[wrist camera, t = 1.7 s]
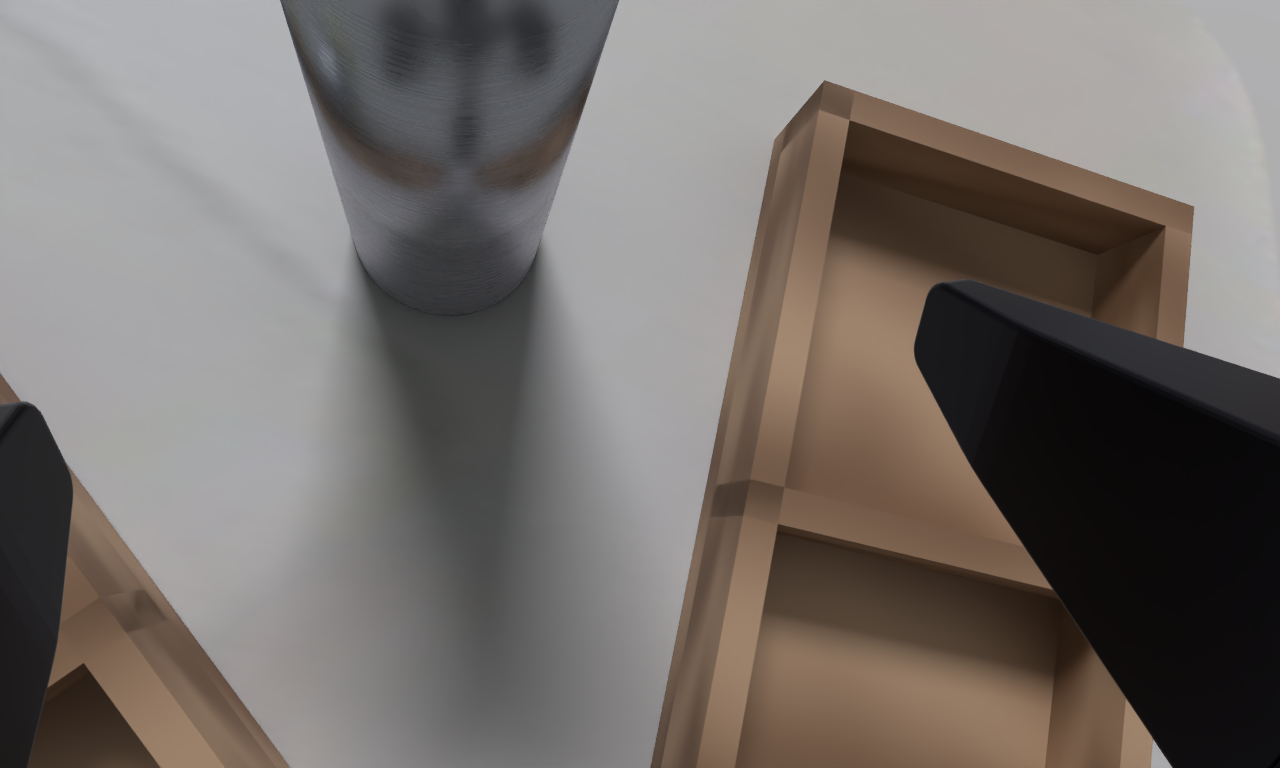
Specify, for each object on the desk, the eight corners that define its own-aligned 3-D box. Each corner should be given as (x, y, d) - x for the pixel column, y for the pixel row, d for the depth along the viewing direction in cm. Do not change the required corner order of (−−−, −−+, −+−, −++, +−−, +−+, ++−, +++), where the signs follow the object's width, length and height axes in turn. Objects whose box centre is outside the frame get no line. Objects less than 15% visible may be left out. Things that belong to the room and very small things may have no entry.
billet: (574, 227, 22) (721, -115, 10) (453, 352, 21) (466, 123, 9) (442, 107, 22) (440, -381, 10) (311, 226, 20) (139, -173, 9)
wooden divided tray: (1026, 1005, 21) (1125, 1086, 18) (615, 948, 19) (647, 1027, 16) (1103, 245, 25) (1194, 206, 22) (774, 139, 24) (824, 80, 21)
